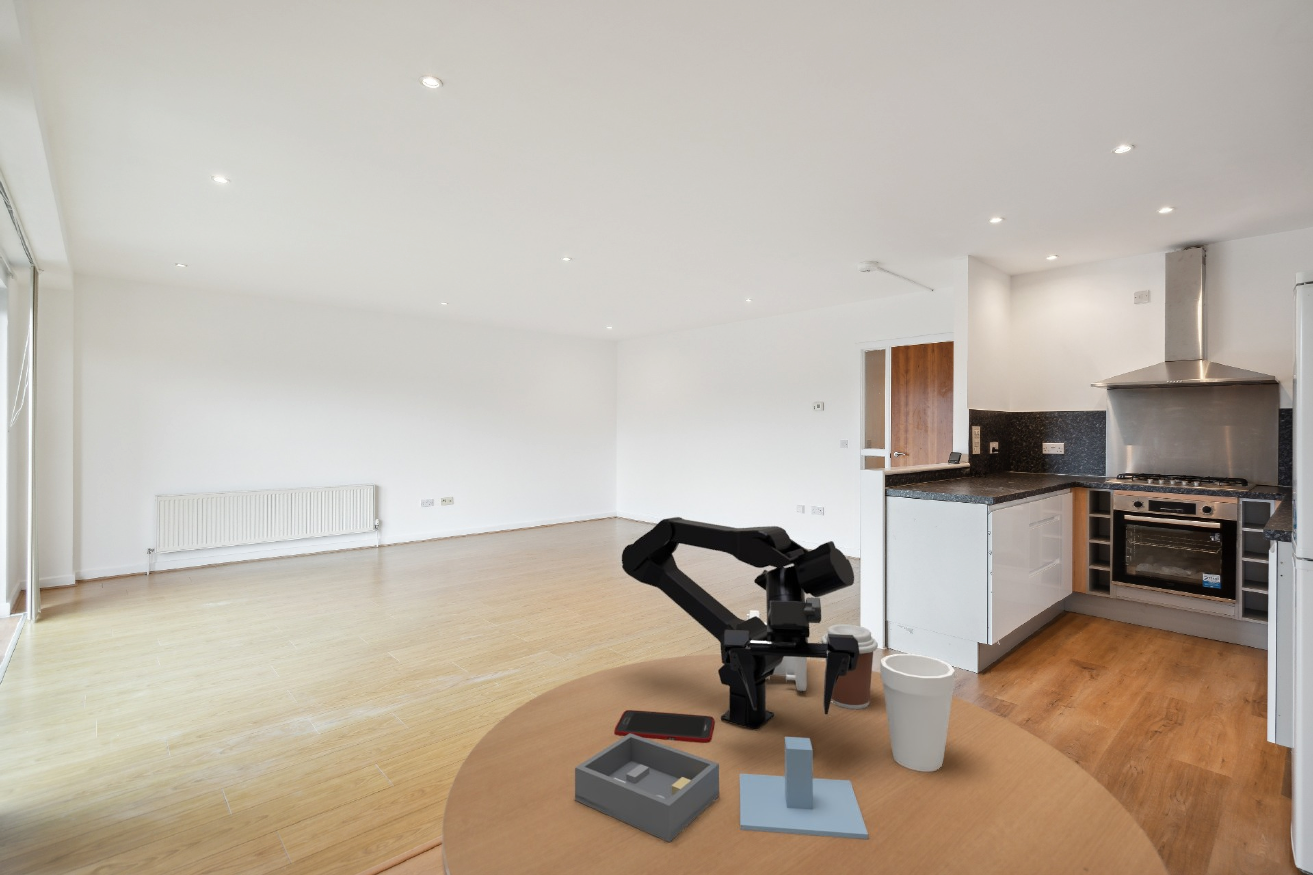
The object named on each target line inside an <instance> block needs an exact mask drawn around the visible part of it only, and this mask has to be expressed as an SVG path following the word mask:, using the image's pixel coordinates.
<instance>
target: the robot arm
mask: <svg viewBox="0 0 1313 875" xmlns="http://www.w3.org/2000/svg"><path fill="white" fill-rule="evenodd" d="M680 544H681V545H687V546H691V547H697V548H702V549H706V550H707V549H708V550H712V551H717V552H723V553H726V554H729V555H730V556H733V558H735V559H737V560H738V561H739V562H742V563H745V564H747V565H749V566H752V567H754V568H758V569H763V568H767V567H774V568H773V569H769V570H767V569H763V571H762V572H761V573H760V574H759V575H757V576H756V578H754V580H753V582H754V583H755V585H757V586H759V587H760V588H761V589H763V590H764V591H765V594H766V595H765V596H766V598H765V600H766V605H765V606H766V622H767V625H766V624H765V623H764V622H765V621H763V620H762V619H761V617H760V618H758V617H757V616H755V617H752V618H750V619H748V620H745V619H741V618H739V617H737V615H735V614H734V613H733V612H732V611H730V610H729V609H728V608H727V607H726V606H725V605H724V604H722V603H721V602H720V601H719V600H717V599H716V598H715V597H714V596H712V595H711V594H710V593H709V592H707V591H706V590H705V589H704V588H703V587H701V586H700V585H699V584H698V583H697V582H695V580H693V579H692V578H691V577H690V576H688V575H687V574H686V573H685V572H683V571H682V570H681V569H679V567H678V566H677V563H676V560H675V558H674V555H673V553H675V552H676V550H677V549H678V546H679V545H680ZM621 564H622V565H621V567H622V570H623V571H624V572H625V573H626V574H627V575H628V576H629V577H631V578H632V579H634V580H636V581H637V582H639V583H642V584H643V585H644V584H645V585H648V586H651V587H653V588H657V589H659V590H660V591H661V592H662V593H663V594H665V595H666V596H667V597H668V598H669V599H671V601H673V602H674V603H675V604H676V605H677V606H678V607H679V608H681V609H682V610H683V611H684V612H685V613H686V614H688V616H690V617H691V618H692V619H693V620H694V621H695V622H696V623H698V624H699V625H701V627H703V629H705V630H706V631H707V632H708V633H710V634H711V635H712V636H713V637H714V638H715V639H716V640H717V641H718V642H719V643H720V646H719V647H720V655H721V664H723V665H722V666H721V667H720V668H719V669H718V670H717V672H718V676H719V680H720V683H721V685H724V686H727V687H729V689H728V690H729V695H728V697H729V698H728V700H729V701H728V705H729V706H728V710H727V711H726V712H724V713H723V714H722V715H721V716H720V720H721V721H724V722H727V723H731V724H734V725H736V726H737V725H738V726H741V727H744V728H748V729H750V730H754V731H758V730H760V729H761V728H762V727H763V726H764V725H766V724H767V723H768V722H769V721H770V720H772V719H773V718H774V717H775V712H774V711H770V710H767V694H766V692H767V687H766V686H767V683H766V682H767V677H768V676H770V677H771V676H774V675H773V673H774V670H775V667H777V666H779V665H780V663H781V662H782V660H783V657H784V656H789V657H807V658H810V659H811V658H812V659H813V658H814V659H825V670H824V681H823V682H824V684H823V685H824V686H823V710H824V711H823V712H824V713H823V714H824V715H827V716H828V714H829V710H830V707H831V703H832V702H831V698H832V693H833V690H834V687H835V685H836V682H837V680H838V678H839V676H845V675H847V671H853V670H855V669H856V665H857V661H858V657H859V645H858V641H857V639H856V638H855V637H854V636H853V635H841V634H828V636H827V642H826V644H824V643H822V642H821V643H820V642H819V643H818V642H817V643H816V642H809V639H808V638H810V635H811V634H810V632H811V631H810V624H820V623H821V622H822V607H821V606H822V604H821V598H820V597H824V596H825V595H829V594H832V593H834V592H837V591H840V590H842V589H845V588H849V587H851V586H853V585H854V582H855V574H854V570H853V569H854V568H853V566H852V564H851V561H850V560H849V559H848V558H847V557H846V556H845V554H844V553H843V552H842V551H841V550H840V549H838V548H837V547H836V545H835V543H834V541H832V540H831V541H827V542H824V543H822V544H820V545H818V546H817V547H816V548H814V549H812V550H808V549H806V548H805V547H803V546H802V545H801V544H799V543H798V542H796V541H794V540H793V539H792V538H791V537H790V535H789V533H788V532H787V531H786V529H784V528H782V527H780V526H776V525H771V526H769V525H768V526H751V527H732V526H726V525H720V524H714V523H709V522H708V523H707V522H701V521H696V520H690V519H684V518H682V517H680V516H675V517H669V518H663V519H661V520H660V521H659V522H657V524H655V526H654V527H653V528H651V530H649V531H647V532H646V533H644V534H643V535H642V536H641V537H639V538H638V539H636V540H635V541H634V542H633V543H630V544H628V545H626V546H625V547H624V548H623V550H622V553H621ZM790 565H791V566H790ZM809 594H810V595H811V596H812V597H806V596H805V595H809Z"/></svg>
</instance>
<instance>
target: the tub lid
mask: <svg viewBox="0 0 1313 875" xmlns="http://www.w3.org/2000/svg"><path fill="white" fill-rule="evenodd" d="M812 746H813V745H812V742H811V739H810V737H798V736H797V737H796V736H784V776H783V775H769V774H768V775H767V774H753V773H752V774H751V773H739V814H740V815H739V816H740V818H739V821H740V822H739V824H740V825H739V826H740V827H739V828H740V830H742V831H756V832H765V833H767V832H768V833H781V834H794V835H795V834H796V835H807V836H821V837H832V838H833V837H834V838H842V839H843V838H844V839H846V838H847V839H856V840H857V839H859V840H869V834H868V830H867V827H866V825H865V821H864V819H863V815H862V812H861V809H860V806H859V803H858V801H857V797H856V794H855V792H854V789H853V786H852V782H851V780H848V779H847V780H845V779H844V780H843V779H831V778H830V779H829V778H815V777H813V776H814V774H813V773H814V772H813V767H814V764H813V761H814V759H813V758H814V757H813V756H814V755H813V751H814V750H813V747H812Z"/></svg>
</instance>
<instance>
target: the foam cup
mask: <svg viewBox="0 0 1313 875" xmlns="http://www.w3.org/2000/svg"><path fill="white" fill-rule="evenodd" d="M955 678H956V670H955V669H954V667H953V666H952V665H951V664H949V663H948V662H946V661H943V660H942V659H939V658H936V657H935V658H934V657H931V656H927V655H920V654H912V653H894V654H891V655H885V656H884V657H883V658H881V659H880V679H881V682H882V686H883V693H884V701H885V708H886V714H887V715H886V716H887V725H888V730H889V738H890V746H891V751H892V756H893V760H894V761H895V762H896V763H898V764H899V765H900V766H902V767H904V768H907V769H909V770H912V771H917V772H925V773H926V772H934V771H938V770H940V769H941V768H942V766H943V765H942V764H943V761H944V758H945V752H946V751H945V749H946V742H947V737H948V735H947V734H948V729H949V728H948V727H949V722H950V713H951V707H952V699H953V694H954V693H953V691H955V689H956V679H955ZM940 767H941V768H940ZM939 768H940V769H939ZM937 769H938V770H937Z"/></svg>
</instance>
